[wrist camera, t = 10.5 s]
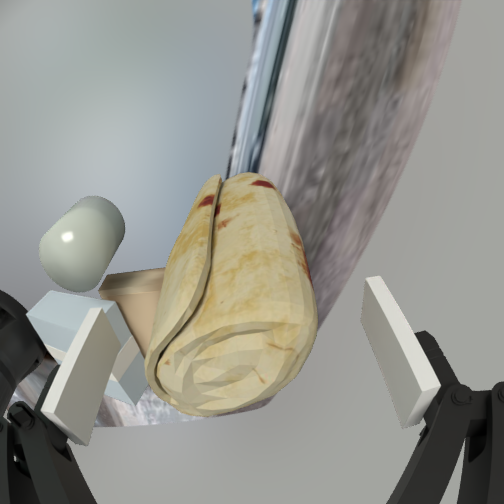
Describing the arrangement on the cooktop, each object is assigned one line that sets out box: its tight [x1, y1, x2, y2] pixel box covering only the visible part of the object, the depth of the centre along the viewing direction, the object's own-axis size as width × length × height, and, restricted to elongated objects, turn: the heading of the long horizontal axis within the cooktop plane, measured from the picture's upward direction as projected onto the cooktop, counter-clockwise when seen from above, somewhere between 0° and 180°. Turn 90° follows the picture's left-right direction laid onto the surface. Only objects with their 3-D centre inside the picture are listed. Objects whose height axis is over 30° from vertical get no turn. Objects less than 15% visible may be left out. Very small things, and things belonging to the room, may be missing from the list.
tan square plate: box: [98, 267, 166, 359], centre depth 34 cm, size 14×14×3 cm
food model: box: [144, 172, 318, 417], centre depth 20 cm, size 10×7×20 cm
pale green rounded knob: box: [39, 196, 125, 292], centre depth 26 cm, size 6×6×7 cm
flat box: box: [26, 290, 149, 406], centre depth 32 cm, size 12×12×5 cm
